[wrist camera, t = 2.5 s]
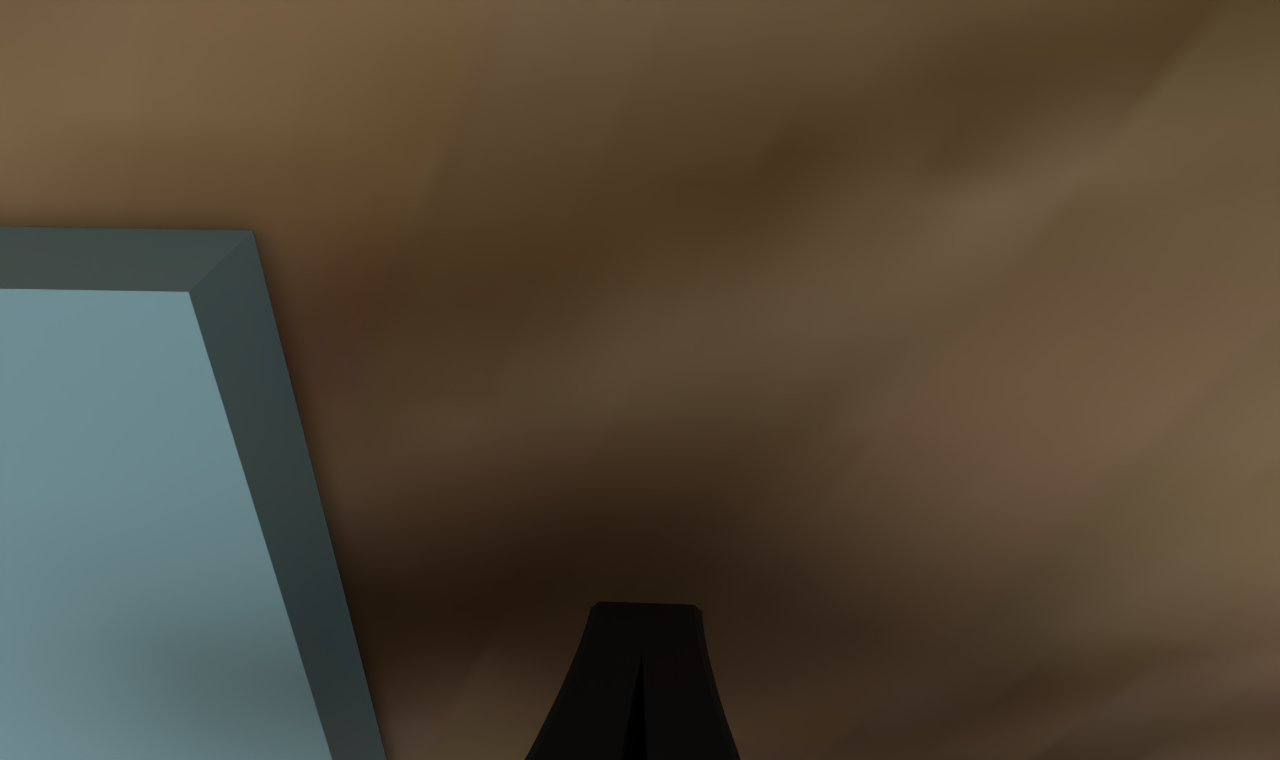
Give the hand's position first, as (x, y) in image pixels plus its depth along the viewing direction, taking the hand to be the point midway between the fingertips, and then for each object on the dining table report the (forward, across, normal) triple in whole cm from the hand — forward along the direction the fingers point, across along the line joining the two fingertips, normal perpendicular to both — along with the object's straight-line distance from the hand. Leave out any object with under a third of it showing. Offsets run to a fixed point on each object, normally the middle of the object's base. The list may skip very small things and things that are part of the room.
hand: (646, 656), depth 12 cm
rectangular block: (+2, +8, 0) cm, 8 cm away
